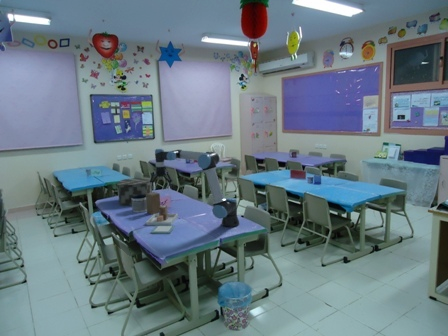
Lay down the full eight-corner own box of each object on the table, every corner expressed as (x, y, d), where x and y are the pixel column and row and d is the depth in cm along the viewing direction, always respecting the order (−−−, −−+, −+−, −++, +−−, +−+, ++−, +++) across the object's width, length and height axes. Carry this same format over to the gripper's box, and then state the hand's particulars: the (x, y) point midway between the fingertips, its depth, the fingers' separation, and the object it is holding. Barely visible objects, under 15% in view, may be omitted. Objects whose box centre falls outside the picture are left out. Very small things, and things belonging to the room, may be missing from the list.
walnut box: (167, 218, 299) (167, 205, 297) (166, 220, 293) (165, 207, 292) (161, 218, 300) (160, 205, 298) (159, 220, 294) (158, 207, 292)
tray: (178, 217, 304) (177, 213, 303) (171, 226, 280) (170, 222, 279) (154, 217, 306) (154, 213, 306) (145, 226, 282) (145, 222, 282)
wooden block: (161, 212, 319) (159, 193, 316) (152, 215, 312) (151, 195, 309) (155, 211, 326) (153, 191, 323) (146, 213, 319) (145, 193, 316)
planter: (140, 213, 319) (139, 199, 317) (129, 211, 327) (127, 197, 325) (151, 209, 333) (150, 195, 330) (140, 207, 341) (139, 194, 338)
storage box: (123, 198, 382) (121, 179, 379) (153, 196, 386) (152, 177, 382) (117, 206, 348) (115, 185, 344) (150, 204, 352) (149, 183, 348)
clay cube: (163, 222, 289) (163, 215, 288) (162, 223, 284) (162, 217, 283) (157, 222, 289) (157, 215, 288) (157, 224, 284) (156, 217, 283)
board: (174, 226, 278) (174, 225, 277) (169, 233, 262) (169, 232, 262) (156, 226, 279) (156, 225, 279) (150, 233, 264) (150, 232, 263)
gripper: (175, 165, 291) (176, 188, 295) (148, 165, 294) (149, 188, 297) (172, 166, 284) (174, 190, 287) (145, 167, 286) (146, 190, 290)
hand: (161, 189), depth 292 cm, fingers open, 13 cm apart
